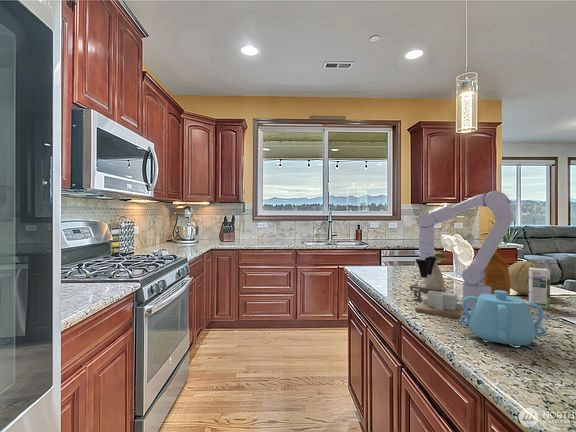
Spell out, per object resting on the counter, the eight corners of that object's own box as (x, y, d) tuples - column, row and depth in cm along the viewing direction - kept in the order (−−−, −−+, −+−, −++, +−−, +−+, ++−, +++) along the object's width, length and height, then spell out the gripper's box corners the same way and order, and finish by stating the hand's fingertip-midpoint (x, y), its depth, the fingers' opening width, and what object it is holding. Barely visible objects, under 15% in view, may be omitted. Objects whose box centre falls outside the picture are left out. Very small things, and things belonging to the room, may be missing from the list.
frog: (441, 296, 139) (441, 253, 139) (414, 290, 150) (414, 250, 150) (456, 293, 146) (456, 251, 146) (429, 287, 156) (430, 249, 156)
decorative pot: (504, 328, 101) (504, 284, 101) (553, 349, 85) (553, 297, 85) (455, 330, 99) (455, 285, 99) (496, 352, 83) (496, 299, 83)
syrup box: (531, 306, 124) (531, 268, 124) (528, 303, 129) (528, 266, 129) (550, 309, 122) (550, 270, 121) (546, 305, 127) (546, 267, 127)
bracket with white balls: (441, 303, 128) (441, 290, 128) (409, 298, 135) (409, 286, 135) (445, 299, 135) (445, 287, 135) (414, 294, 142) (414, 283, 142)
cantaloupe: (498, 292, 147) (498, 259, 147) (518, 289, 153) (518, 257, 153) (534, 300, 133) (534, 263, 133) (554, 297, 140) (555, 261, 140)
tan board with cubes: (461, 318, 109) (462, 300, 109) (415, 310, 118) (415, 293, 118) (466, 310, 119) (467, 293, 119) (423, 303, 128) (423, 287, 128)
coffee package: (510, 299, 135) (510, 246, 135) (510, 306, 125) (511, 248, 125) (482, 295, 141) (482, 244, 141) (480, 302, 130) (480, 247, 130)
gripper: (420, 240, 141) (420, 272, 141) (411, 243, 130) (411, 277, 130) (438, 241, 137) (438, 274, 137) (430, 244, 126) (430, 279, 126)
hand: (426, 275), depth 133 cm, fingers open, 7 cm apart
